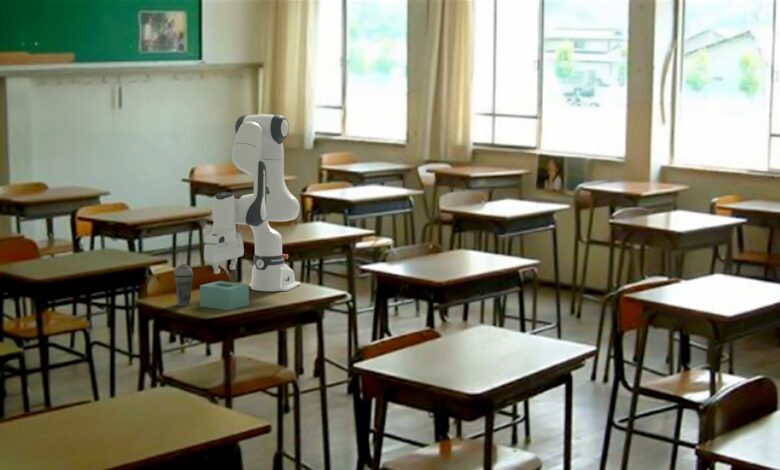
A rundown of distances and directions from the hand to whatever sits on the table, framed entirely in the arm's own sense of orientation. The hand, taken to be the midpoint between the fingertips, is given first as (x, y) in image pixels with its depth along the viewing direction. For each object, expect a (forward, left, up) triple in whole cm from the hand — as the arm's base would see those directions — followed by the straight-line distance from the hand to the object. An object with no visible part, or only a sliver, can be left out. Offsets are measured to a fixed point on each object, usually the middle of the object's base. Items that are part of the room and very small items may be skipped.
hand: (224, 271), depth 459 cm
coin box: (0, 0, -13) cm, 13 cm away
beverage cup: (+7, -14, -13) cm, 21 cm away
